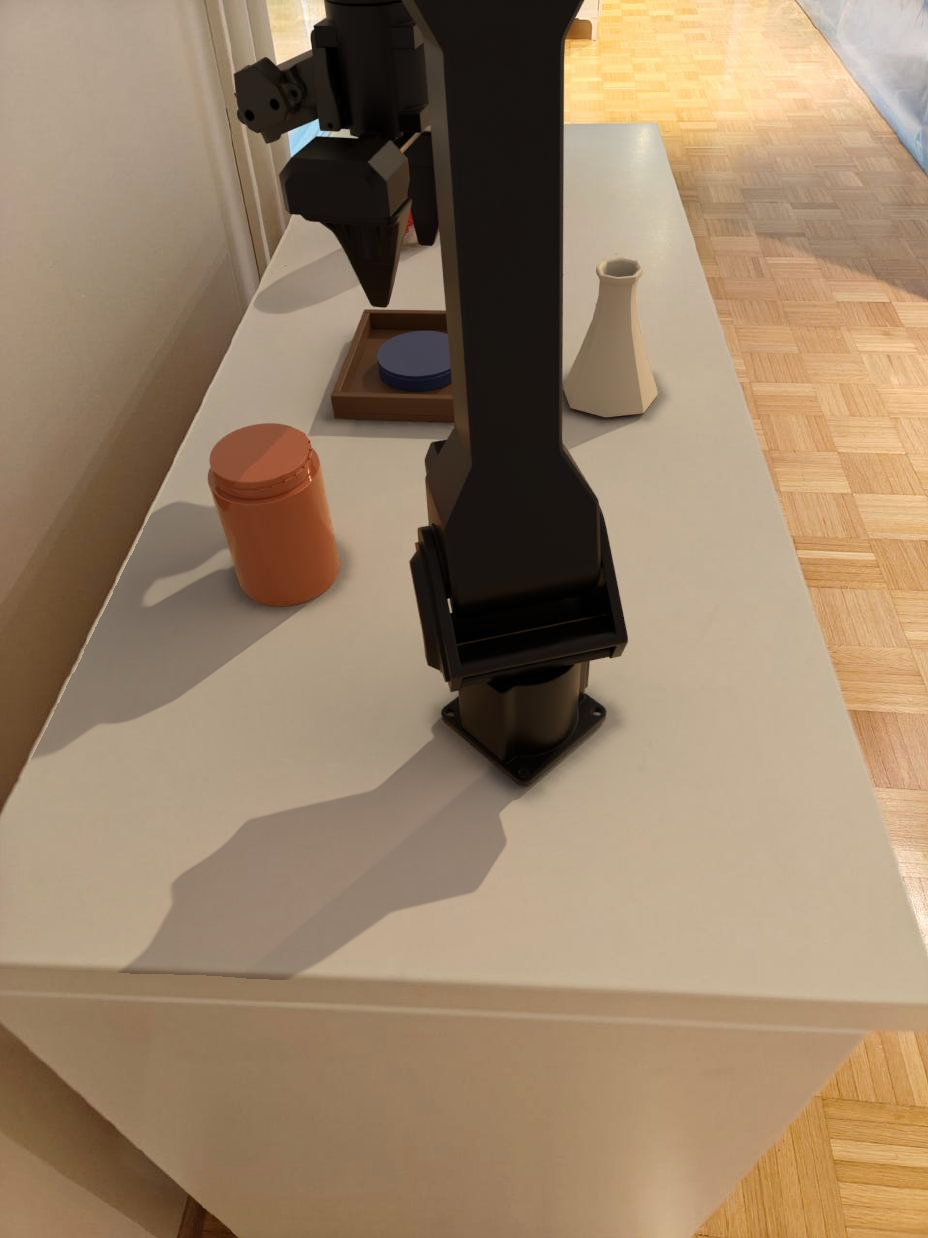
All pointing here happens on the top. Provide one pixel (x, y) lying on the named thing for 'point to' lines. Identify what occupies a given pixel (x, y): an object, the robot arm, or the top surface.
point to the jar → (274, 513)
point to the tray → (362, 384)
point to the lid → (415, 361)
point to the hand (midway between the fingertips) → (404, 273)
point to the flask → (613, 349)
